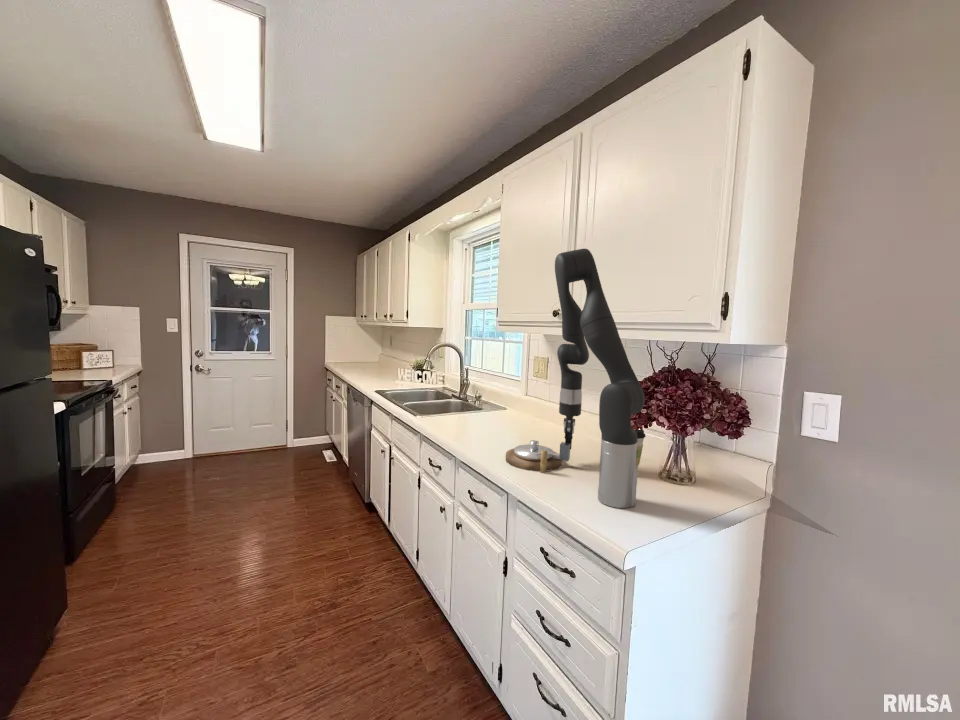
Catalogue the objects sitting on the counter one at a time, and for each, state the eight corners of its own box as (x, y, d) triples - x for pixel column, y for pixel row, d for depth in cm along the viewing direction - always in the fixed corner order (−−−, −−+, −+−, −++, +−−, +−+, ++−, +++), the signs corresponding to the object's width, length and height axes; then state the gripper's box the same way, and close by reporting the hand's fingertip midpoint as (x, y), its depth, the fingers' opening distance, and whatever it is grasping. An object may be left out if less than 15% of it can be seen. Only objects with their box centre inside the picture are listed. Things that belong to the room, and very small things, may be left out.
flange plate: (508, 456, 137) (509, 440, 136) (521, 446, 150) (521, 431, 149) (564, 466, 129) (565, 449, 129) (572, 454, 142) (573, 439, 141)
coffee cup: (615, 476, 128) (618, 431, 127) (608, 466, 138) (611, 424, 136) (646, 479, 127) (649, 433, 126) (638, 468, 136) (640, 426, 135)
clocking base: (558, 453, 150) (559, 435, 149) (566, 474, 128) (567, 453, 128) (506, 450, 151) (506, 432, 151) (504, 470, 130) (505, 449, 129)
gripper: (560, 396, 145) (558, 442, 146) (558, 404, 132) (556, 453, 134) (581, 398, 143) (579, 444, 145) (581, 405, 130) (578, 456, 132)
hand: (568, 448), depth 139 cm, fingers closed
